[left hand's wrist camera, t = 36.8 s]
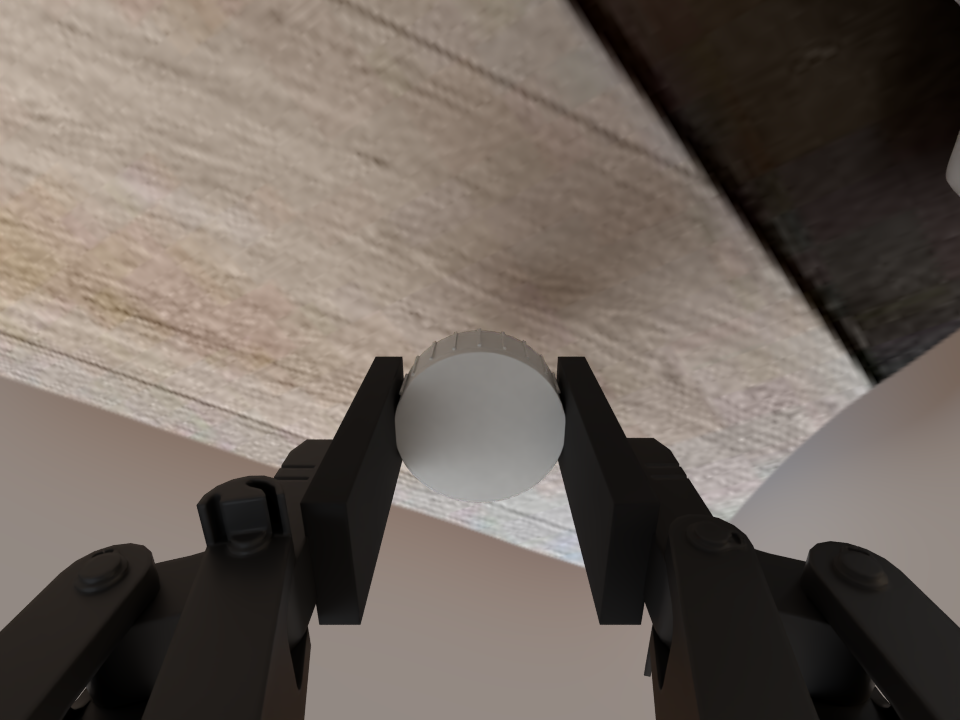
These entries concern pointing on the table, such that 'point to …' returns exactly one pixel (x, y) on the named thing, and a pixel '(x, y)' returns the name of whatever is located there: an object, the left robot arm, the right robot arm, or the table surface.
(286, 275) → the table surface
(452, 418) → the cap
